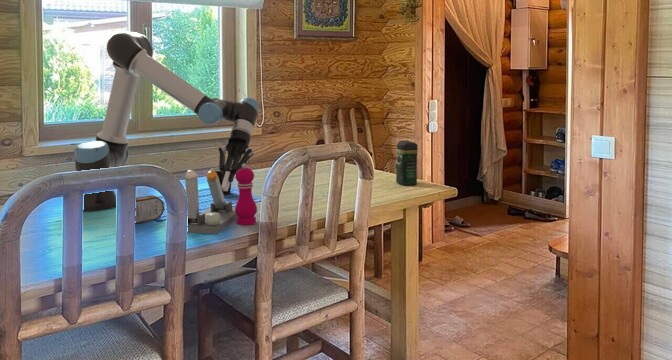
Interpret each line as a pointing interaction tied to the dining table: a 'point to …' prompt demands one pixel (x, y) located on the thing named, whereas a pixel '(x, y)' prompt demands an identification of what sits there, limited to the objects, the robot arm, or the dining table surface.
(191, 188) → the toggle lever ivory
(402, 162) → the coffee jar
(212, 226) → the switch panel
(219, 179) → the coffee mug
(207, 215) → the push button
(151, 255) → the dining table surface
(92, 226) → the dining table surface
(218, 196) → the toggle lever orange
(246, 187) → the pepper mill
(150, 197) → the tin
